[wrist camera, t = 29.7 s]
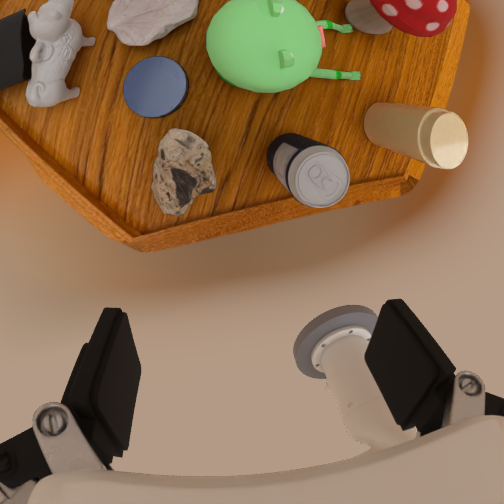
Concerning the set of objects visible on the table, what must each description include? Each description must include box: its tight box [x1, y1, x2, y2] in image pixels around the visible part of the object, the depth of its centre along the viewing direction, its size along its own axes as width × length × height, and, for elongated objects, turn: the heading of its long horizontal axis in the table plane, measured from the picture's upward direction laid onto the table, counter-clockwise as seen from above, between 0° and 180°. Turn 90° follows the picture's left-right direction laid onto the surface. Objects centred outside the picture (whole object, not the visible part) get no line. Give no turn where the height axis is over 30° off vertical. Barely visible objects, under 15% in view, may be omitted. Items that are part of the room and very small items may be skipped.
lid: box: [123, 56, 188, 118], centre depth 27 cm, size 7×7×2 cm
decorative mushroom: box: [345, 0, 457, 37], centre depth 19 cm, size 10×9×15 cm
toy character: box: [206, 0, 361, 93], centre depth 23 cm, size 10×18×13 cm, turn 99°
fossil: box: [107, 0, 199, 46], centre depth 22 cm, size 9×6×10 cm
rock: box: [151, 128, 216, 216], centre depth 31 cm, size 9×7×10 cm
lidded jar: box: [364, 102, 468, 169], centre depth 27 cm, size 6×6×13 cm
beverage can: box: [267, 133, 350, 208], centre depth 29 cm, size 6×6×12 cm
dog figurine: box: [26, 0, 95, 107], centre depth 19 cm, size 5×13×11 cm, turn 164°
